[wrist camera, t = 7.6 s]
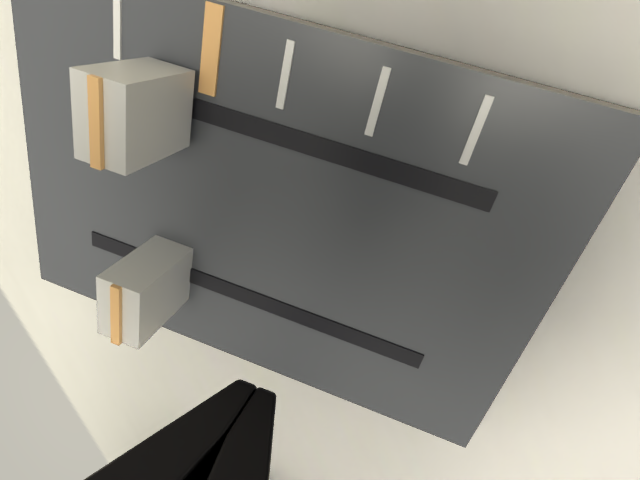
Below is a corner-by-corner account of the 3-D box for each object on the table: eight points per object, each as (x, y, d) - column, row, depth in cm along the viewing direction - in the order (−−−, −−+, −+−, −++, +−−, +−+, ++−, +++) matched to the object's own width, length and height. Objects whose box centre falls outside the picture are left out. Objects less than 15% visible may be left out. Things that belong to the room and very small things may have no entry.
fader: (189, 146, 19) (121, 177, 15) (146, 132, 19) (69, 159, 15) (195, 70, 17) (121, 85, 13) (148, 56, 17) (64, 67, 14)
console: (465, 423, 23) (464, 534, 18) (62, 265, 27) (-31, 322, 22) (644, 112, 15) (728, 158, 10) (37, -53, 19) (-117, -76, 14)
